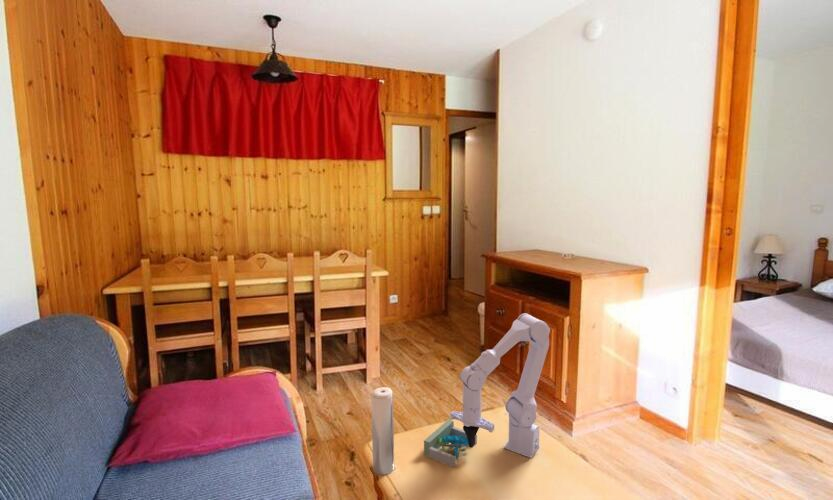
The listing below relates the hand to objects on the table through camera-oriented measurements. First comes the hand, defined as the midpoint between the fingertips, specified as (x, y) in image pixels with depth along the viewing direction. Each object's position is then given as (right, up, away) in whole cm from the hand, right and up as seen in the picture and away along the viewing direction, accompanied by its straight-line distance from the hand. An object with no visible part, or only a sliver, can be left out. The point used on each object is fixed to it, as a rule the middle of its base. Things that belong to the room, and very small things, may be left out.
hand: (471, 445), depth 134 cm
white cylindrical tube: (-28, -5, -5) cm, 28 cm away
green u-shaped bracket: (-5, -3, +4) cm, 8 cm away
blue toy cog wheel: (-5, -4, +3) cm, 7 cm away
